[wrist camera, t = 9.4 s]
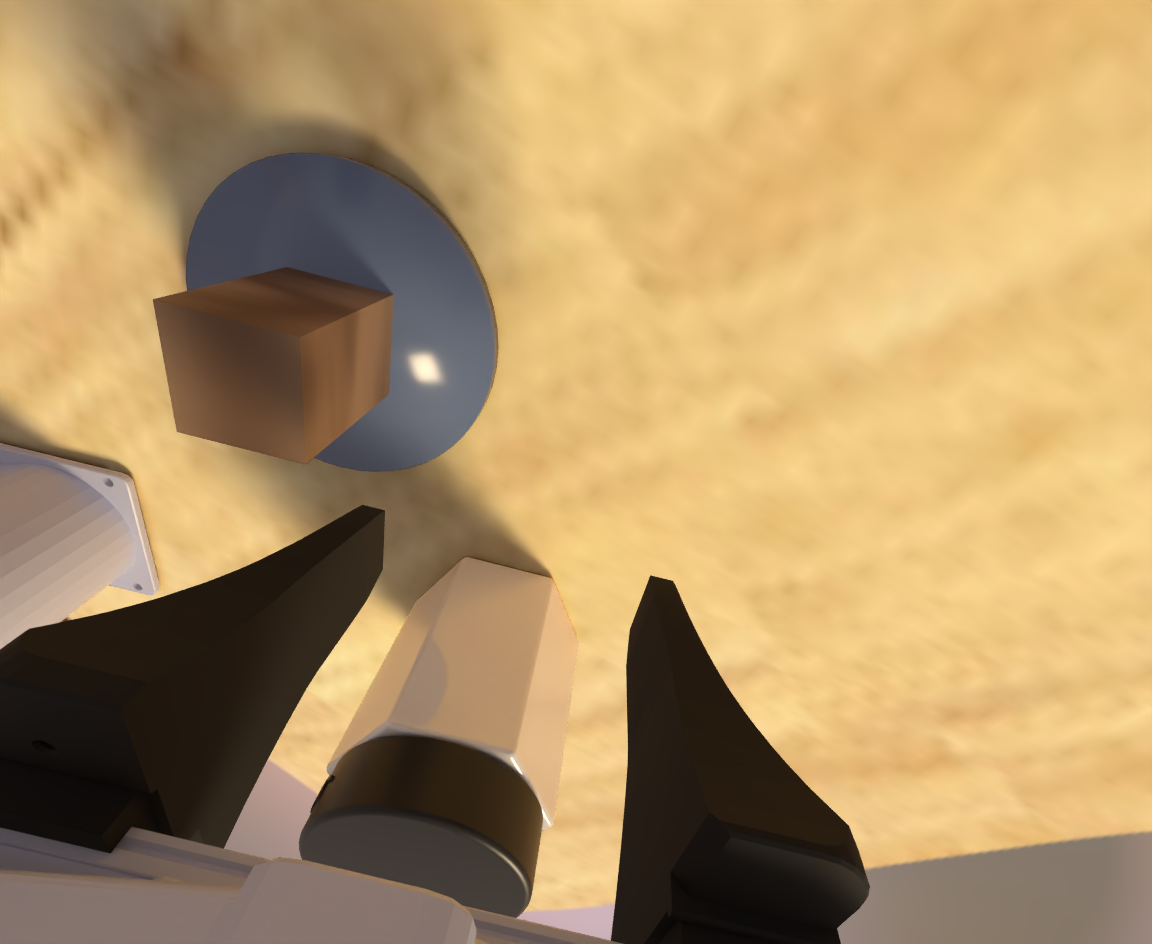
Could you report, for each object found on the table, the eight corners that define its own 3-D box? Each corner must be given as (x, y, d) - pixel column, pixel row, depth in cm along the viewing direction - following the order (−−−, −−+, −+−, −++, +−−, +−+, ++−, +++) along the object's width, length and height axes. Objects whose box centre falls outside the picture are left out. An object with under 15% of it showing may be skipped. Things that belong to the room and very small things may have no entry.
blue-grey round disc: (224, 425, 24) (209, 434, 23) (182, 115, 18) (158, 112, 17) (480, 488, 24) (473, 499, 23) (521, 201, 18) (515, 202, 17)
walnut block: (292, 369, 21) (177, 431, 16) (286, 266, 19) (152, 299, 14) (388, 394, 21) (305, 464, 16) (393, 294, 19) (299, 337, 14)
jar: (394, 567, 27) (239, 810, 17) (541, 540, 25) (470, 795, 15) (462, 684, 31) (370, 939, 21) (593, 668, 29) (565, 940, 19)
